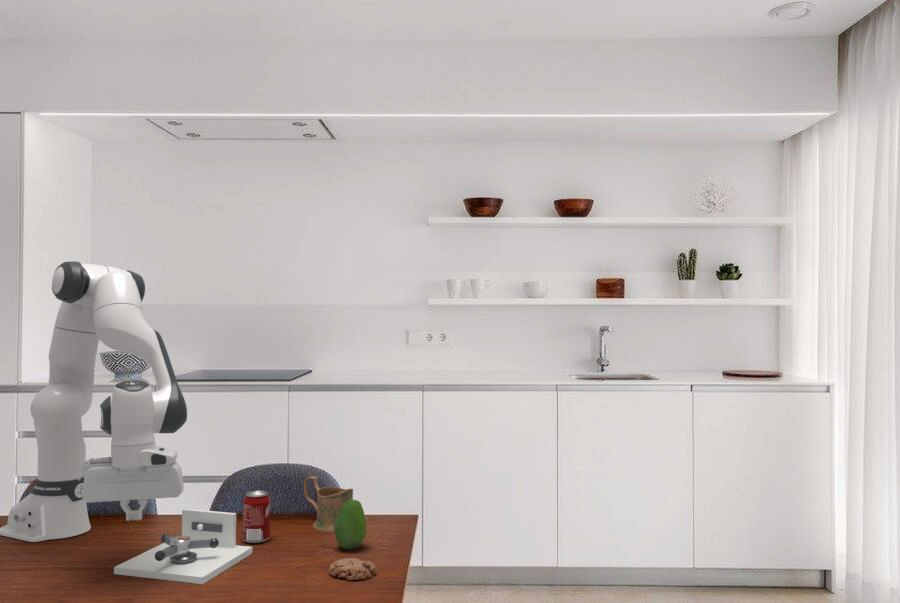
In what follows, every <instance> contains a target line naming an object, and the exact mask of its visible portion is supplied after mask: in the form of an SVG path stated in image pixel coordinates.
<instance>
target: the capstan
mask: <svg viewBox="0 0 900 603" xmlns="http://www.w3.org/2000/svg"><path fill="white" fill-rule="evenodd" d="M190 540H191V538H190V537H188V536H182V535H179V536H172V535H171V534H169V533H163V534H162V535H161V537H160V541H161V542H162V544H163V543H166V544H168V545H170V546H169V547H167V548H165V549H163V550H160V551H157V552H156V553H155V559H156V560H157V561H162V560H163V559H164V558H166V557H168V556H170V561H171V562H173V563H189V562H192V561H195V560H196V559H197V554H196V553H195V552H190V549H196V548H210V547H211V548H216V547H217V546H218V545H219V541H218V539H216V538H213V539H210V540H195V541H190Z"/></svg>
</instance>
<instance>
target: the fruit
mask: <svg viewBox="0 0 900 603" xmlns="http://www.w3.org/2000/svg"><path fill="white" fill-rule="evenodd" d="M333 533H334V536H335V539H336V540H335V541H336V543H337V544H338V545H339V546H340V547H341V548H342V549H344V550H348V551H349V550H354V549H357V548H358V547H360V546H361V544H363V542H364V540H365V537H366V533H367V520H366V516H365V511H364V508H363V505H362V503H361V502H360V500H356V499H353V500H349V501H347V502H345V503H344V504H343V506H342V508H341V510H340V512H339V514H338V516H337V518H336V521H335V524H334V532H333Z"/></svg>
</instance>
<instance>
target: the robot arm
mask: <svg viewBox="0 0 900 603" xmlns="http://www.w3.org/2000/svg"><path fill="white" fill-rule="evenodd" d="M51 291H52V294H53V295H54V296H55V298H56V299H57V300H58V301H61V303H60V306H59V308H58V311H57V315H56V318H55V322H54V323H55V324H54V327H53V332H52V337H51V342H50V347H49V351H48V352H49V353H48V362H49V363H48V364H49V376H48V383H47V386H45V387H43V388H42V389H40V390H39V391H38V392H37V393H36V394H35V396H34V397H33V400H32V401H31V404H30V414H31V417H32V419H33V427H34V434H35V437H36V445H37V478H36V479H34V480H31V481H28V485H27V486H28V487H32V488H31V491H30V493H29V494H28V495H27V496H25V497H24V498H23V499H21V500H20V501H19V502H17V503H16V504H15V505H13V506H12V507H11V508H10V510H9V513H8V516H7V524H5V525H3V526H1V527H0V536H4V537H6V538H12V539H16V540H20V541H25V542H30V543H36V542H38V543H39V542H43V541H48V540H58V539H65V538H66V539H67V538H72V537H74V536H79V535H83V534H84V533H87V532H89V531H90V530H91V528H92V526H91V523H90V518H89V514H88V505H87V503H88V504H89V503H101V502H102V503H103V502H105V503H106V502H118V501H120V507H121V509H122V510H123V512H124V513H125V521H127V522H129V521H131V522H132V521H141V520H142V519H143V510H144V508H145V507H146V505H147V503H148V500H154V499H167V498H168V499H169V498H170V499H171V498H178V497H179V496H180V495H181V494H182V493H183V492H184V478H183V477H184V476H183V470H182V467H181V465H180V464H179V462H178V461H177V458H178V452H177V450H175V449H172V448H168V447H164V446H160V445H157V444H156V438H155V435H154V434H174V433H176V432H177V431H179V430H180V429H181V428H182V427H183V426H184V424H186V423H187V420H188V407H187V402H186V400H185V397H184V395H183V392H182V390H181V388H180V385H179V383H178V381H177V378H176V374H175V370H174V368H173V366H172V363H171V359H170V356H169V353H168V351H167V347H166V345H165V342H164V339H163V338H162V336H161V334H160V332H159V331H157V330H155V329H153V328H152V327H151V326H150V325H149V324H148V322H147V321H146V319H145V317H144V311H143V310H144V309H143V303H142V302H143V301H144V298H145V293H146V284H145V281H144V278H143V277H142V276H141V274H138V273H136V272H134V271H131V270H129V269H127V270H124V269H122V268H117V267H115V266H110V265H105V264H102V265H100V264H94V263H87V262H86V263H84V262H82V263H81V262H80V261H74V260H73V261H64V262H62V263H61V264H60V265H58V266H57V267H56V269H55V271H54V273H53V275H52V280H51ZM100 342H101V343H102V344H103V345H105V346H106V347H108V348H110V349H112V350H114V351H117V352H121V353H124V354H129V355H132V356H135V357H138V358H140V359H142V360H144V361H146V362H147V363H148V364H149V365H150V367H151V368H150V369H151V371H152V373H153V377H154V380H155V383H156V386H157V389H158V390H156V391H152V389H153V388H152V387H151V386H152V385H151V384H150V383H149V382H147V381H144V380H137V379H136V380H135V379H132V380H131V379H130V380H123V381H120V382H118V383H116V384H114V386H113V387H112V388H113V389H112V394H111V395H109V396H108V397H107V398H105V399H104V400H103V401H102V402H101V403H100V405H99V406H100V426H99V428H100V429H101V431H103V432H105V433H106V434H107V435H109V436H112V437H111V441H110V453H111V454H110V456H107V457H100V458H99V457H97V458H96V457H91V458H89V460H86V456H87V455H86V454H87V452H86V450H87V448H86V447H87V446H86V443H85V439H84V433H83V425H82V424H83V423H82V418H83V416H85V415H86V414H87V412H88V411H90V408H91V406H92V403H93V395H94V393H93V392H94V383H95V368H96V366H95V365H96V359H97V358H96V357H97V355H98V348H99V343H100ZM136 500H137V501H138V505H139V508H138V509H136V510H132V509H131V508H130V506H129V504H130V501H136Z"/></svg>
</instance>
